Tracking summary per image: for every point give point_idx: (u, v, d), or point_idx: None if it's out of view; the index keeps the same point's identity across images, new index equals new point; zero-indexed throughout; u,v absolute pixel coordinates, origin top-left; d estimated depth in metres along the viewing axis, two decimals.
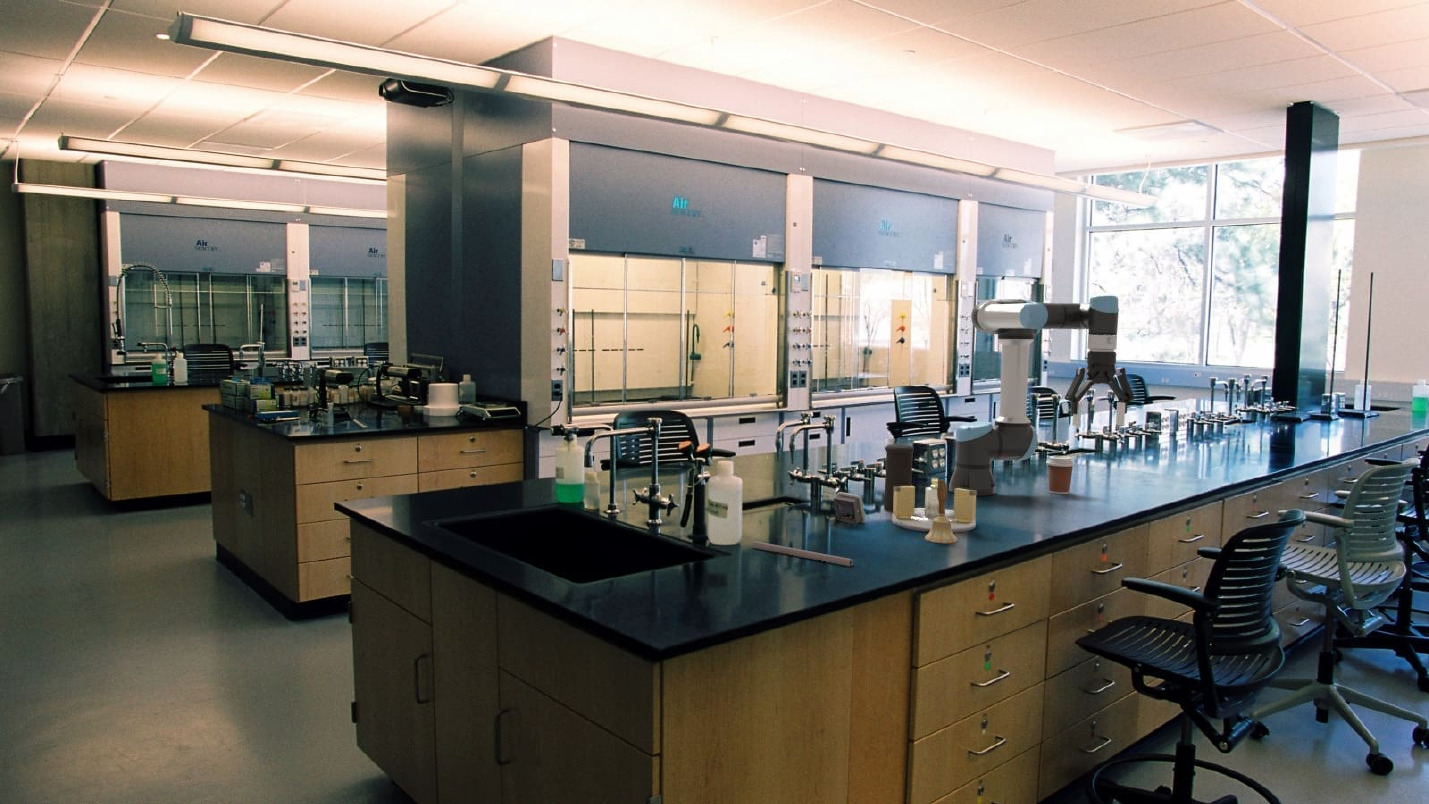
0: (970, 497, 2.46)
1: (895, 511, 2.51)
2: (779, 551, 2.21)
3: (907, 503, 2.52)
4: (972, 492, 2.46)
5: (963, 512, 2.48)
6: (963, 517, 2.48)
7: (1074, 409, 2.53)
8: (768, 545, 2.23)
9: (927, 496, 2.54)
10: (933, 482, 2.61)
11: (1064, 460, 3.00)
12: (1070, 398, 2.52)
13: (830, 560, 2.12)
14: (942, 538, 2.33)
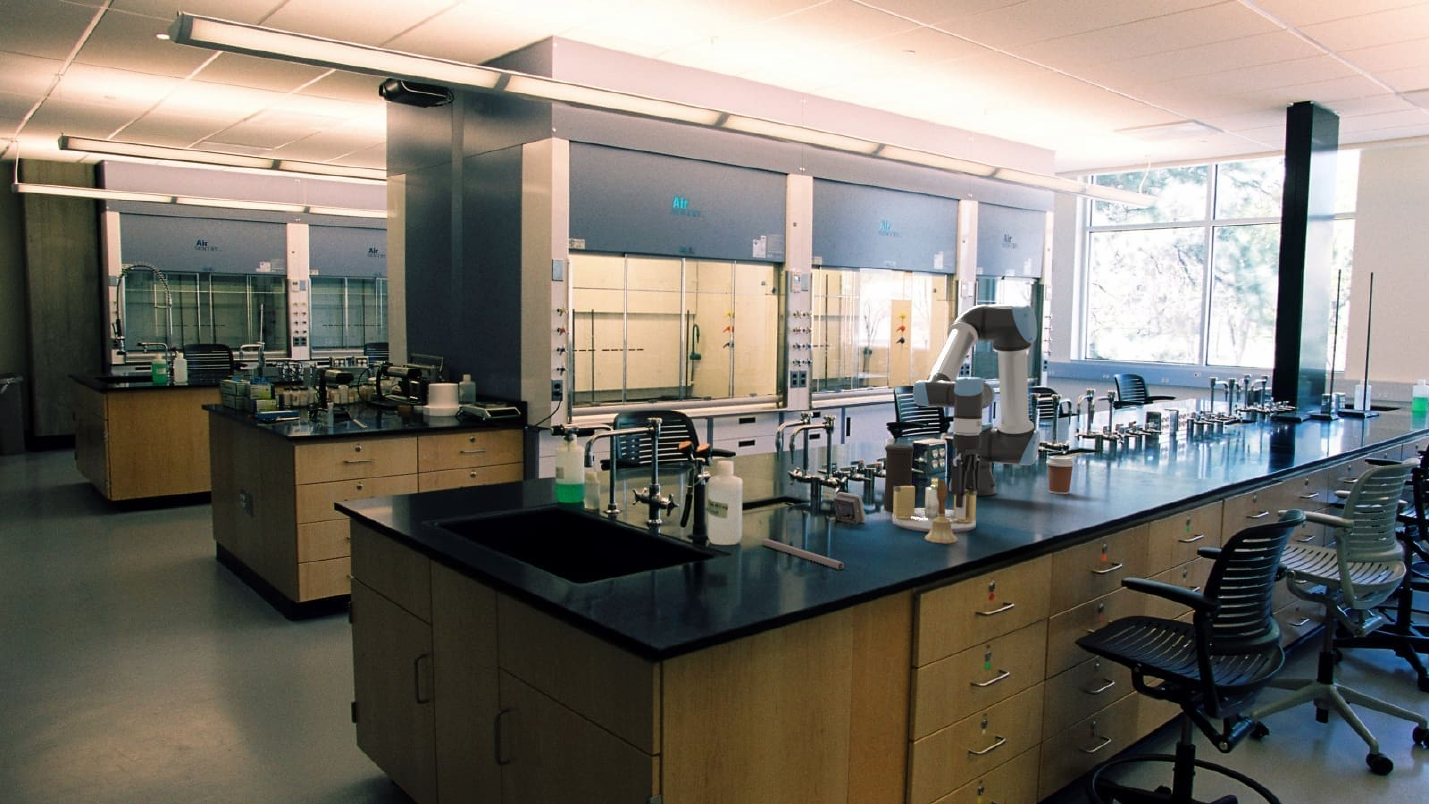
0: (970, 497, 2.46)
1: (895, 511, 2.51)
2: (783, 550, 2.22)
3: (907, 503, 2.52)
4: (972, 492, 2.46)
5: None
6: None
7: (960, 502, 2.45)
8: (774, 543, 2.25)
9: (927, 496, 2.54)
10: (933, 482, 2.61)
11: (1064, 460, 3.00)
12: (960, 493, 2.43)
13: (823, 562, 2.11)
14: (942, 538, 2.33)
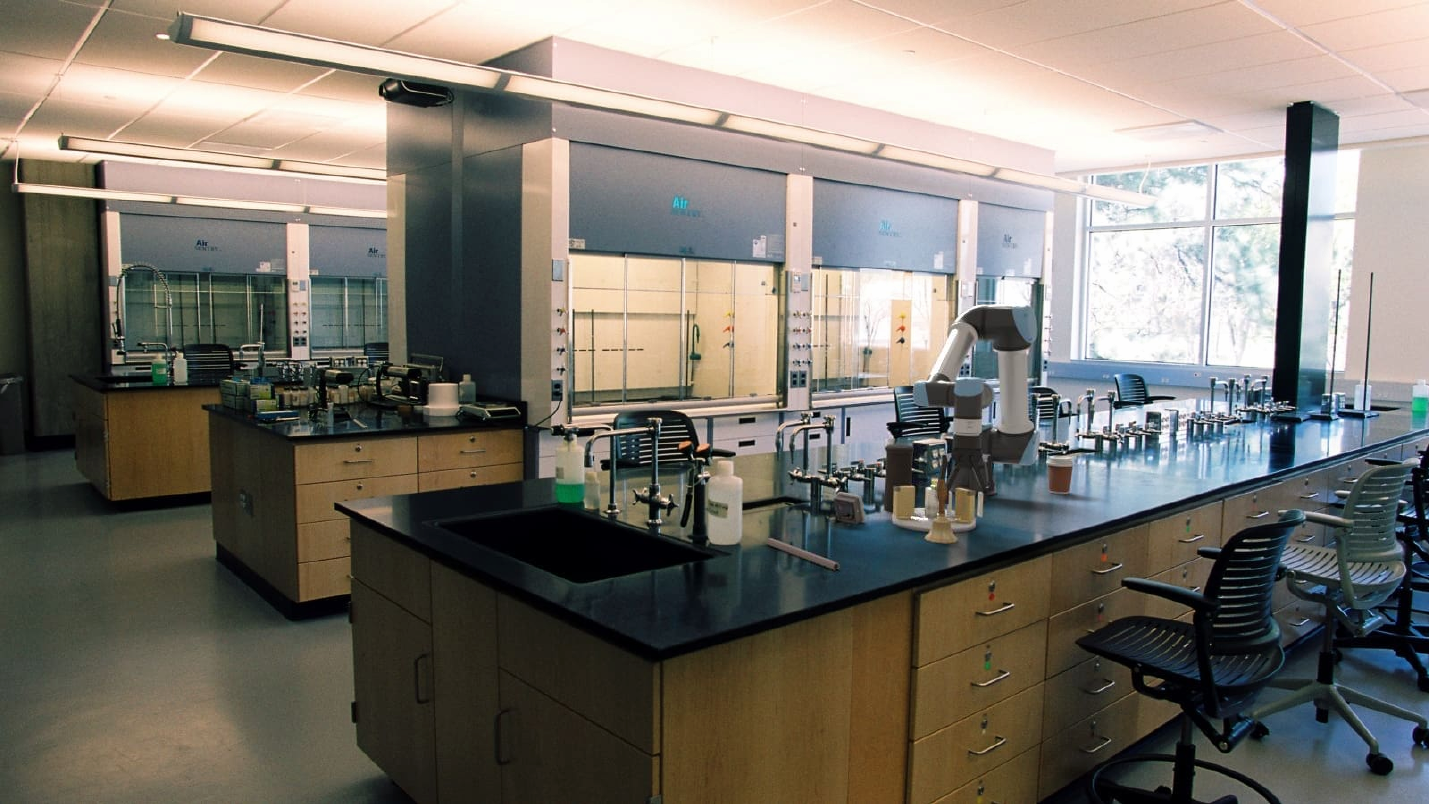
0: (968, 497, 2.46)
1: (895, 511, 2.51)
2: (784, 549, 2.23)
3: (907, 503, 2.52)
4: (969, 492, 2.45)
5: (962, 512, 2.48)
6: (962, 517, 2.48)
7: None
8: (777, 543, 2.26)
9: (927, 496, 2.54)
10: (933, 482, 2.61)
11: (1064, 460, 3.00)
12: None
13: (819, 562, 2.10)
14: (942, 538, 2.33)
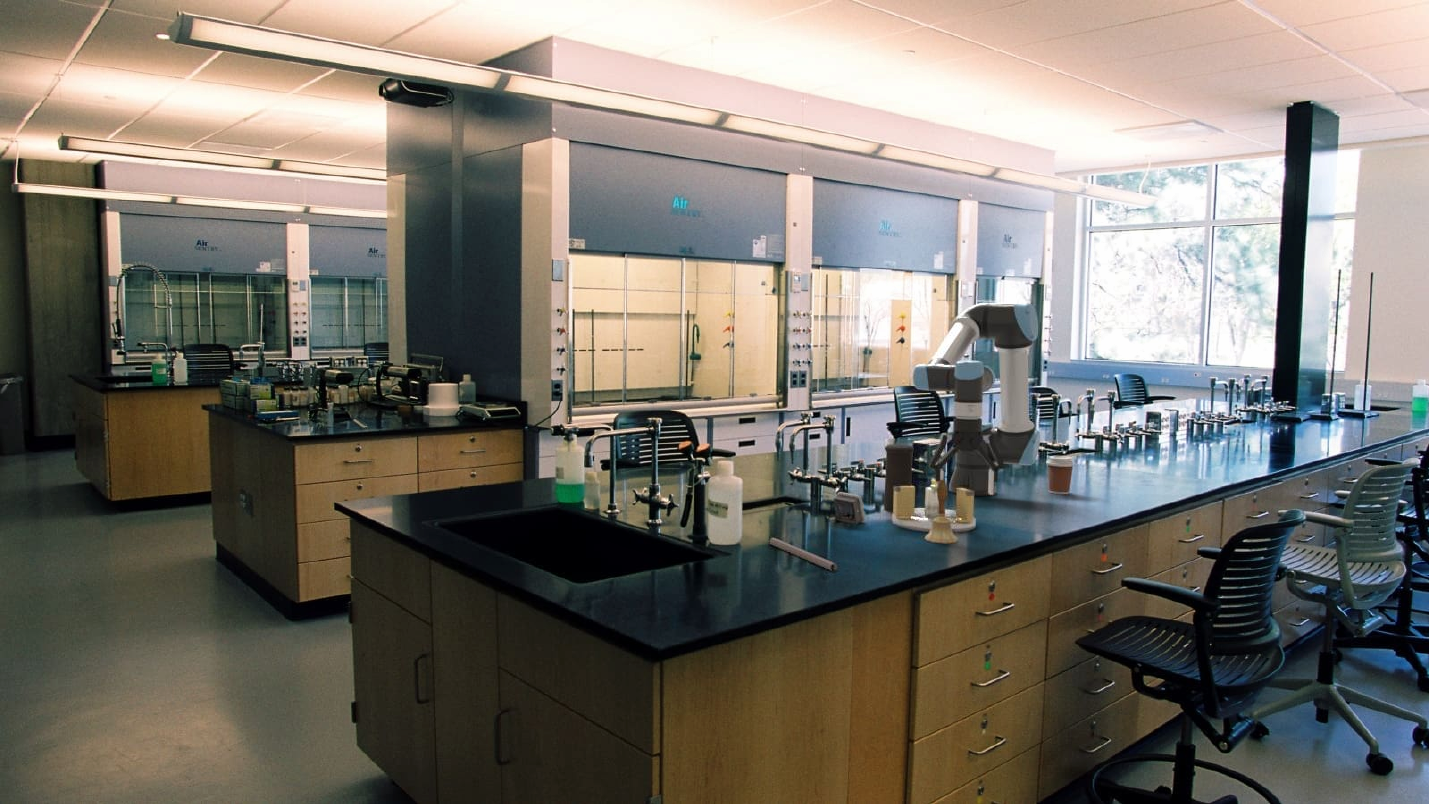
0: (966, 497, 2.46)
1: (895, 511, 2.51)
2: (785, 549, 2.23)
3: (907, 503, 2.52)
4: (967, 492, 2.45)
5: (962, 512, 2.48)
6: (962, 517, 2.48)
7: (936, 476, 2.48)
8: (779, 542, 2.26)
9: (927, 496, 2.54)
10: (933, 482, 2.61)
11: (1064, 460, 3.00)
12: (931, 465, 2.47)
13: (817, 562, 2.10)
14: (942, 538, 2.33)
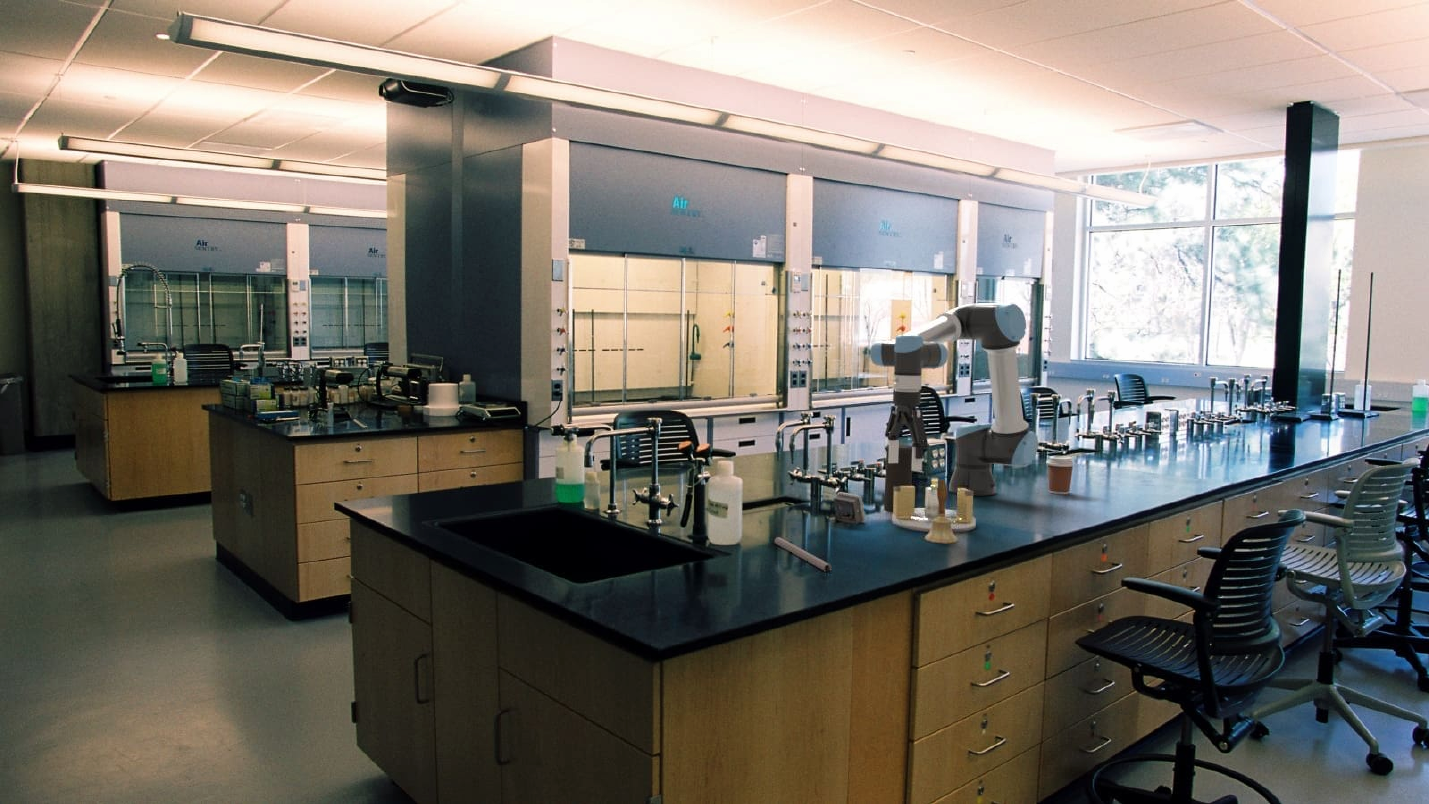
0: (965, 497, 2.46)
1: (895, 511, 2.51)
2: (787, 549, 2.23)
3: (907, 503, 2.52)
4: (966, 492, 2.45)
5: (961, 512, 2.48)
6: (961, 517, 2.48)
7: None
8: (783, 542, 2.27)
9: (927, 496, 2.54)
10: (933, 482, 2.61)
11: (1064, 460, 3.00)
12: (885, 434, 2.60)
13: (813, 563, 2.10)
14: (942, 538, 2.33)
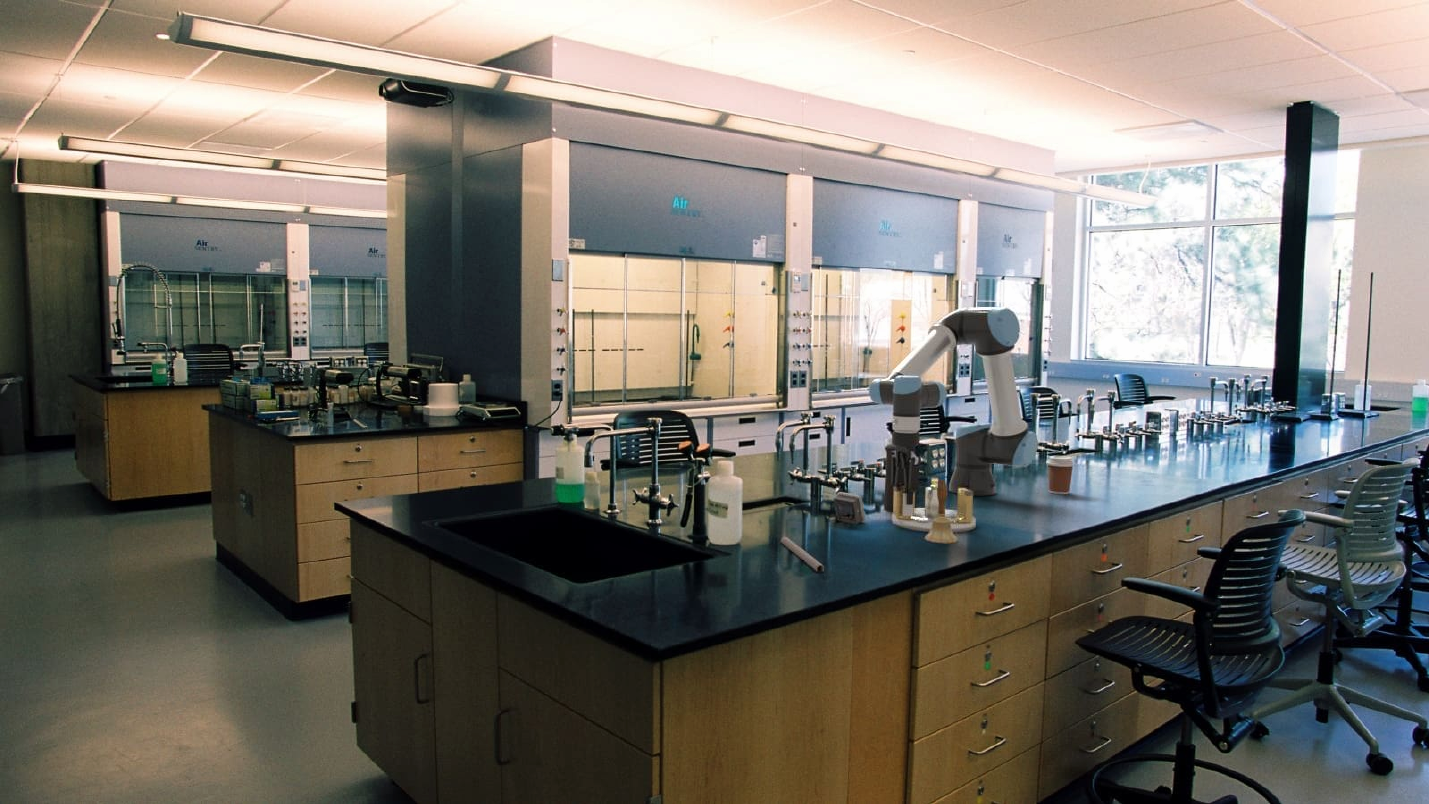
0: (965, 497, 2.46)
1: (895, 511, 2.51)
2: (790, 548, 2.24)
3: None
4: (966, 492, 2.45)
5: (961, 512, 2.48)
6: (961, 517, 2.48)
7: None
8: (787, 541, 2.27)
9: (927, 496, 2.54)
10: (933, 482, 2.61)
11: (1064, 460, 3.00)
12: (891, 483, 2.57)
13: (809, 563, 2.10)
14: (942, 538, 2.33)
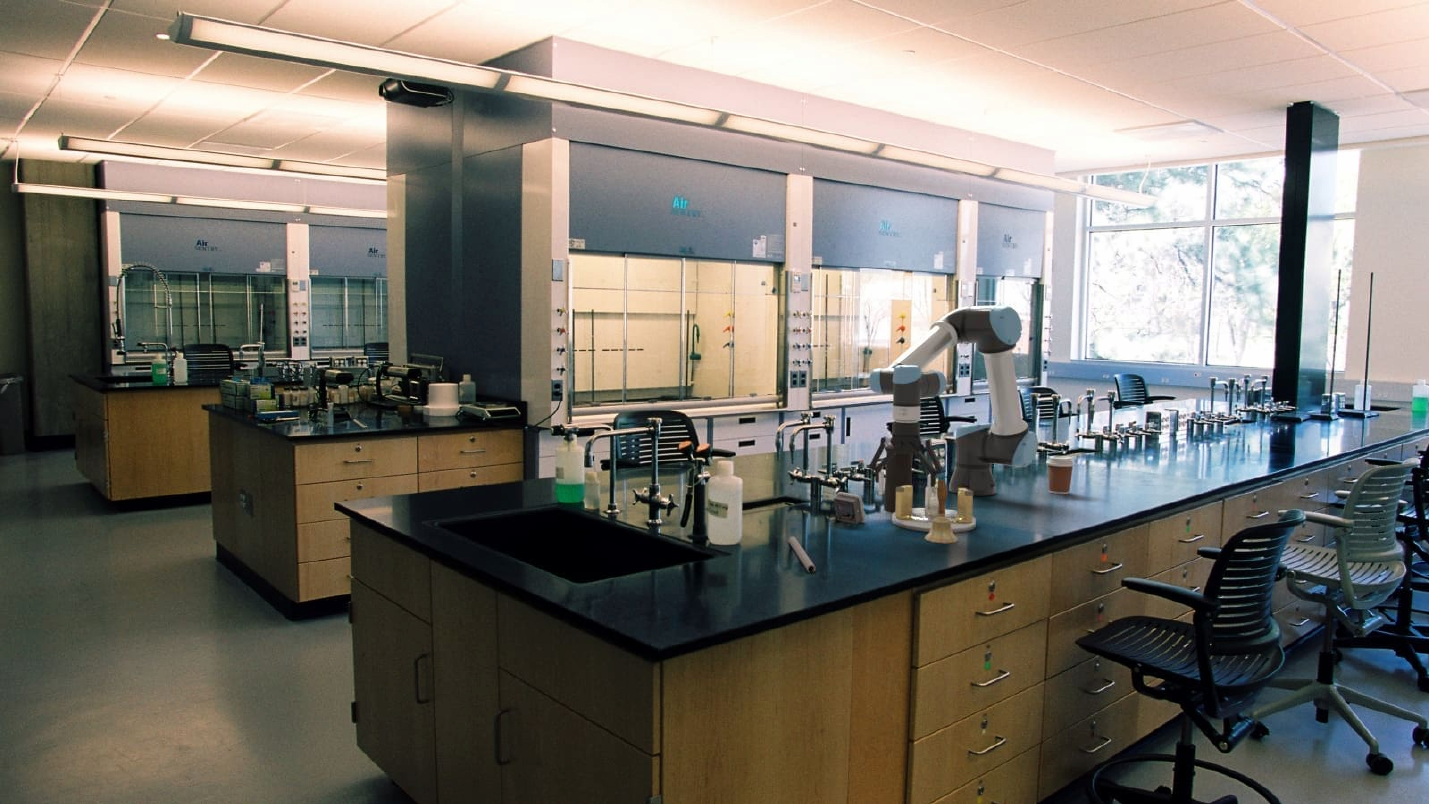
0: (965, 497, 2.46)
1: (899, 512, 2.50)
2: (793, 548, 2.24)
3: (907, 503, 2.52)
4: (966, 492, 2.45)
5: (961, 512, 2.48)
6: (961, 517, 2.48)
7: (876, 477, 2.55)
8: (792, 541, 2.27)
9: None
10: None
11: (1064, 460, 3.00)
12: (869, 466, 2.55)
13: (803, 563, 2.10)
14: (942, 538, 2.33)
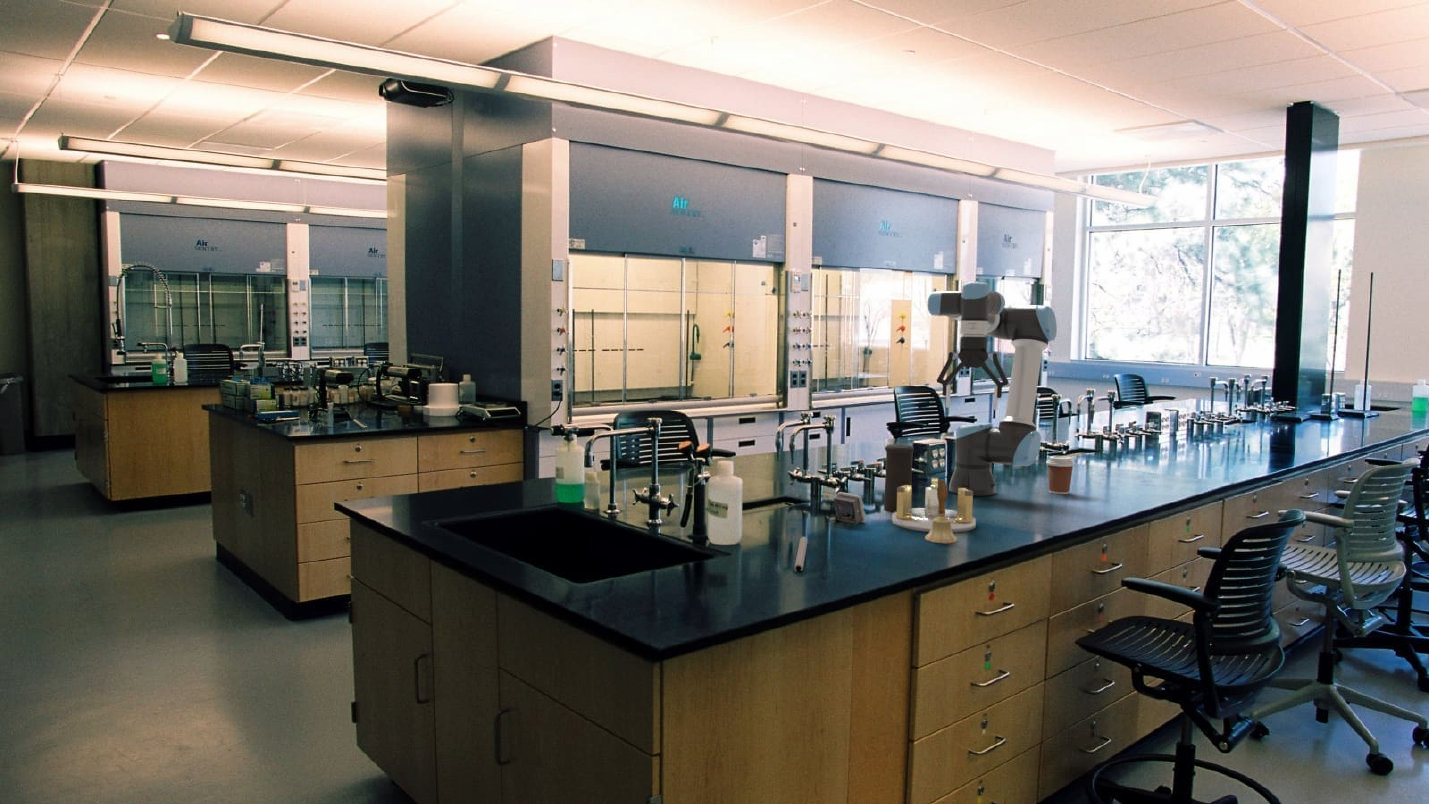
0: (965, 497, 2.46)
1: (900, 512, 2.50)
2: None
3: (907, 503, 2.52)
4: (966, 492, 2.45)
5: (961, 512, 2.48)
6: (961, 517, 2.48)
7: (943, 391, 2.67)
8: (800, 541, 2.27)
9: (927, 496, 2.54)
10: (933, 482, 2.61)
11: (1064, 460, 3.00)
12: (937, 380, 2.67)
13: None
14: (942, 538, 2.33)
